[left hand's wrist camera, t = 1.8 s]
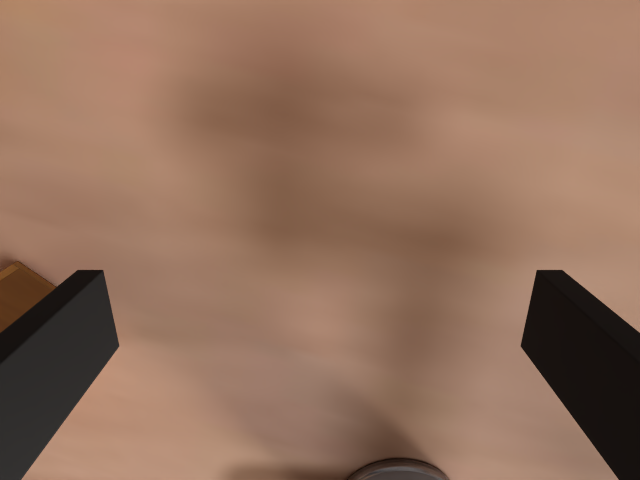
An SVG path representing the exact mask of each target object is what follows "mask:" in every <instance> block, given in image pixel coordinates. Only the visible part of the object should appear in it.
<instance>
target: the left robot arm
mask: <svg viewBox="0 0 640 480" xmlns="http://www.w3.org/2000/svg"><path fill="white" fill-rule="evenodd" d="M118 347H119V342H118V338H117V333H116V328H115V323H114V319H113V314H112V309H111V305H110V300H109V295H108V291H107V286H106V281H105V277H104V272H103V270H77V271H76V272H75V273H74V274H72V275H71V276H70V277H69V278H67V279H66V280H65V281H64V282H62V283H61V284H60V285H59V286H58V287H56V288H55V289H54V290H53V291H51V292H50V293H49V294H48V295H46V296H45V297H44V298H43V299H42V300H40V301H39V302H38V303H37V304H35V305H34V306H33V307H32V308H30V309H29V310H28V311H27V312H26V313H24V314H23V315H22V316H21V317H19V318H18V319H17V320H16V321H14V322H13V323H12V324H11V325H10V326H8V327H7V328H6V329H5V330H3V331H2V332H1V333H0V480H21V479H22V478H23V476H24V475H25V474H26V472H27V471H28V470H29V468H30V467H31V465H32V464H33V463H34V461H35V460H36V459H37V457H38V456H39V455H40V453H41V452H42V451H43V449H44V448H45V446H46V445H47V444H48V442H49V441H50V440H51V438H52V437H53V436H54V434H55V433H56V431H57V430H58V429H59V427H60V426H61V425H62V423H63V422H64V421H65V419H66V418H67V417H68V415H69V414H70V412H71V411H72V410H73V408H74V407H75V406H76V404H77V403H78V402H79V400H80V399H81V398H82V396H83V395H84V393H85V392H86V391H87V389H88V388H89V387H90V385H91V384H92V383H93V381H94V380H95V379H96V377H97V376H98V374H99V373H100V372H101V370H102V369H103V368H104V366H105V365H106V364H107V362H108V361H109V359H110V358H111V357H112V355H113V354H114V353H115V351H116V350H117V349H118ZM521 347H522V349H523V350H524V351H525V353H526V354H527V355H528V357H529V358H530V359H531V361H532V362H533V364H534V365H535V366H536V368H537V369H538V370H539V372H540V373H541V374H542V376H543V377H544V379H545V380H546V381H547V383H548V384H549V385H550V387H551V388H552V389H553V391H554V392H555V393H556V395H557V396H558V398H559V399H560V400H561V402H562V403H563V404H564V406H565V407H566V408H567V410H568V411H569V412H570V414H571V415H572V417H573V418H574V419H575V421H576V422H577V423H578V425H579V426H580V427H581V429H582V430H583V431H584V433H585V434H586V436H587V437H588V438H589V440H590V441H591V442H592V444H593V445H594V446H595V448H596V449H597V451H598V452H599V453H600V455H601V456H602V457H603V459H604V460H605V461H606V463H607V464H608V465H609V467H610V468H611V470H612V471H613V472H614V474H615V475H616V476H617V478H618V479H619V480H640V333H639V332H638V331H637V330H635V329H634V328H633V327H632V326H630V325H629V324H628V323H627V322H626V321H624V320H623V319H622V318H621V317H619V316H618V315H617V314H616V313H614V312H613V311H612V310H611V309H610V308H608V307H607V306H606V305H605V304H603V303H602V302H601V301H600V300H598V299H597V298H596V297H595V296H594V295H592V294H591V293H590V292H589V291H587V290H586V289H585V288H584V287H582V286H581V285H580V284H579V283H578V282H576V281H575V280H574V279H573V278H571V277H570V276H569V275H568V274H566V273H565V272H564V271H563V270H537V272H536V277H535V281H534V286H533V291H532V295H531V300H530V305H529V309H528V314H527V319H526V323H525V328H524V333H523V338H522V342H521ZM347 480H449V479H448V478H447V477H446V476H445V475H444V474H443V473H442V472H441V471H439V470H438V469H437V468H435V467H433V466H431V465H429V464H426V463H423V462H419V461H415V460H407V459H393V460H385V461H380V462H377V463H373V464H371V465H368V466H366V467H364V468H362V469H360V470H358V471H357V472H355V473H354V474H353V475H352V476H350V477H349V478H348V479H347Z"/></svg>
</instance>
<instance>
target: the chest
mask: <svg viewBox="0 0 640 480" xmlns="http://www.w3.org/2000/svg"><path fill="white" fill-rule="evenodd" d="M55 288H56V287H55V286H53V285H52V284H50V283H49V282H48V281H46V280H45V279H43V278H42V277H40V276H39V275H37V274H36V273H34V272H33V271H31V270H30V269H28V268H27V267H25V266H24V265H23V264H21V263H20V262H18V261H17V262H15V263H14V264H12V265H11V266H9V267H7V268H6V269H4V270H3V271H1V272H0V333H1V332H2V331H3V330H5V329H6V328H7V327H8V326H10V325H11V324H12V323H13V322H14V321H16V320H17V319H18V318H19V317H21V316H22V315H23V314H24V313H26V312H27V311H28V310H29V309H30V308H32V307H33V306H34V305H35V304H37V303H38V302H39V301H40V300H42V299H43V298H44V297H45V296H46V295H48V294H49V293H50V292H51V291H53V290H54V289H55Z"/></svg>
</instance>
